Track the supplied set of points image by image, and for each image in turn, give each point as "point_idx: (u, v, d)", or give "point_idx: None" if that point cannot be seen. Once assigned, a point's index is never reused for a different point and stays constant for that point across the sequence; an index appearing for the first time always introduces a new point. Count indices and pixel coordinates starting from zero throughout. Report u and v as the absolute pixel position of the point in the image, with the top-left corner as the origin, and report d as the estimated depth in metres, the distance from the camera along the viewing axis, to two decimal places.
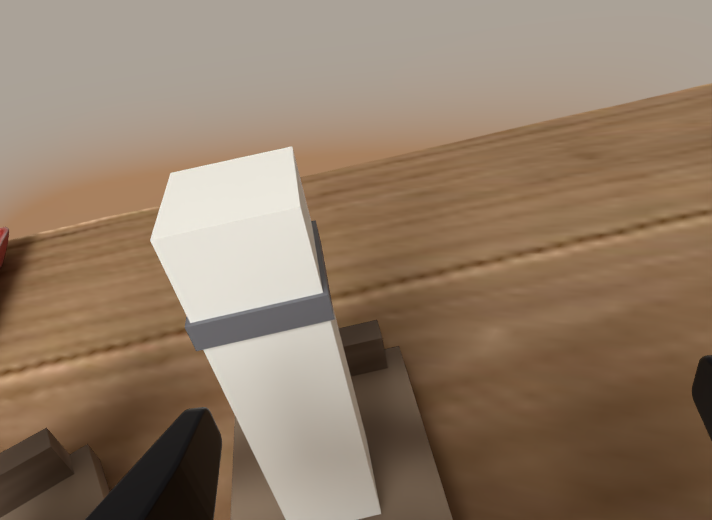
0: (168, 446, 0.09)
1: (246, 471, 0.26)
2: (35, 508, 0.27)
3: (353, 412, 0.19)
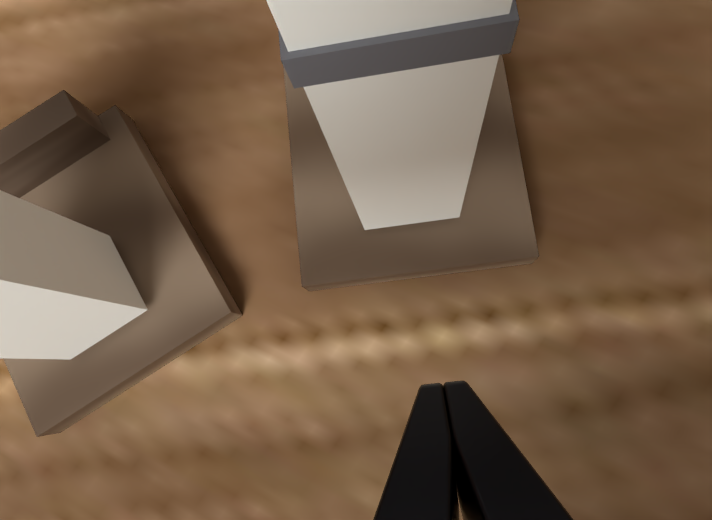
0: (429, 421, 0.08)
1: (306, 155, 0.24)
2: (80, 175, 0.25)
3: (475, 146, 0.15)
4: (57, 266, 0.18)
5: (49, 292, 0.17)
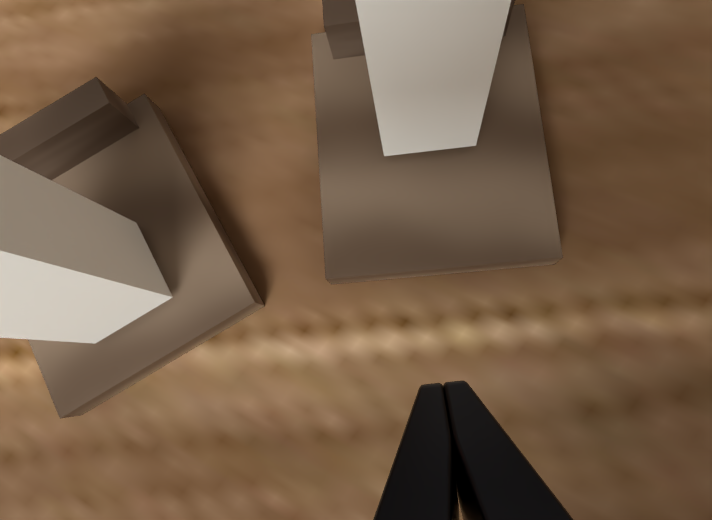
0: (429, 421, 0.08)
1: (333, 149, 0.24)
2: (108, 162, 0.25)
3: (498, 46, 0.16)
4: (91, 251, 0.18)
5: (84, 276, 0.17)
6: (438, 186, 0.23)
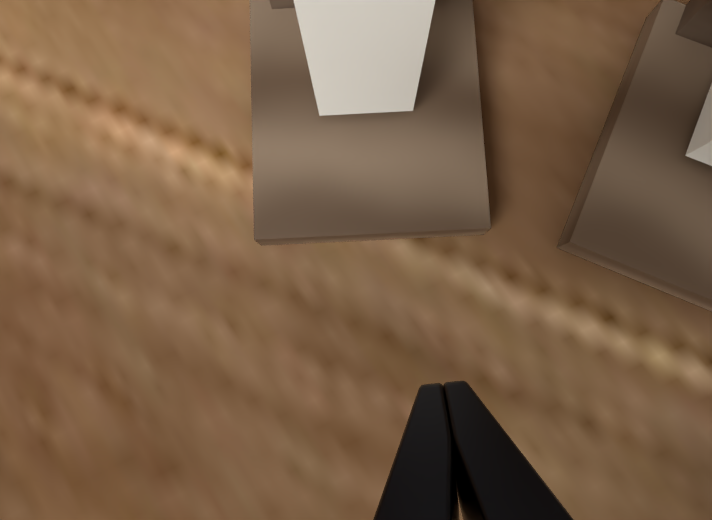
0: (429, 421, 0.08)
1: (634, 122, 0.22)
2: None
3: None
4: None
5: (424, 30, 0.16)
6: None
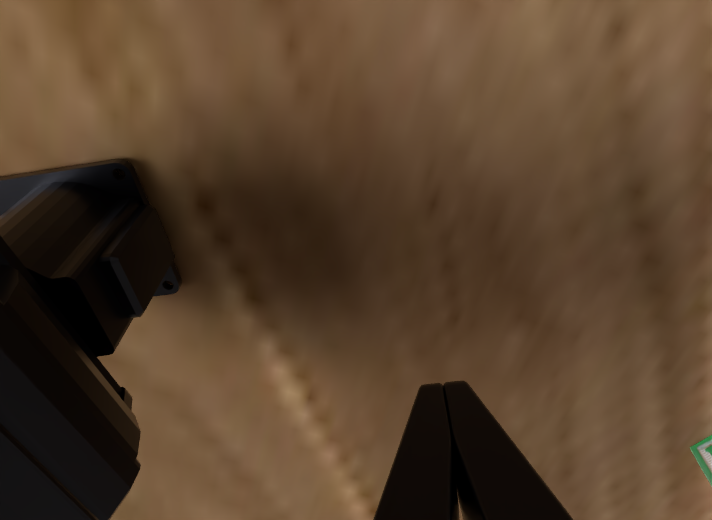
0: (429, 421, 0.08)
1: None
2: None
3: None
4: None
5: None
6: None
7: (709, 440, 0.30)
